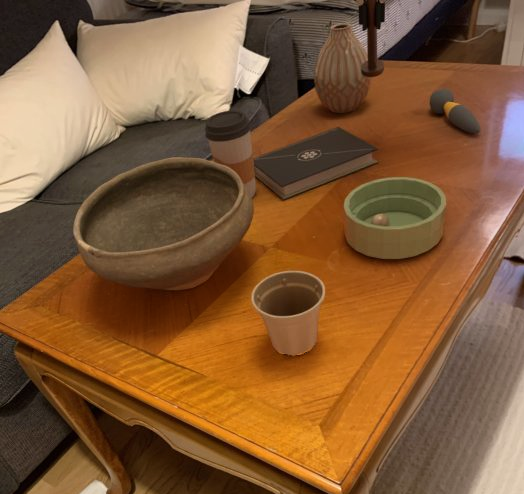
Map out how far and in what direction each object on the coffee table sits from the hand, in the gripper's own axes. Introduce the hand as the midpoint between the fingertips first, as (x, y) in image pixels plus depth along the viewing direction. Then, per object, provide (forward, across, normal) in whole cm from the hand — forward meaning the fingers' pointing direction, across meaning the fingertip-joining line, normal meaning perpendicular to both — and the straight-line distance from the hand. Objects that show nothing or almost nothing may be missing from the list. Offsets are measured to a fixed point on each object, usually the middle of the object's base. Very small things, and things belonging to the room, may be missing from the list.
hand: (371, 27), depth 94 cm
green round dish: (+22, +6, -34) cm, 40 cm away
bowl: (+22, -28, -44) cm, 57 cm away
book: (+22, -11, -9) cm, 27 cm away
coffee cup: (+22, -24, -19) cm, 38 cm away
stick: (+8, 0, +2) cm, 8 cm away
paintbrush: (+22, +17, +10) cm, 29 cm away
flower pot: (+22, -6, -59) cm, 64 cm away
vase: (+22, -8, +21) cm, 31 cm away
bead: (+19, +2, -34) cm, 39 cm away
